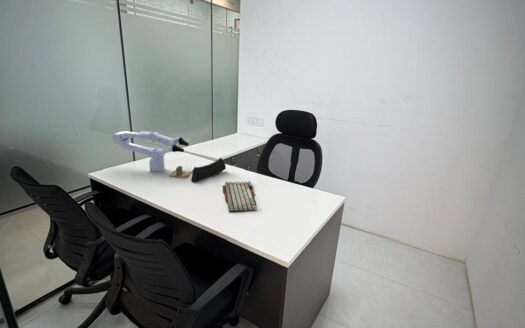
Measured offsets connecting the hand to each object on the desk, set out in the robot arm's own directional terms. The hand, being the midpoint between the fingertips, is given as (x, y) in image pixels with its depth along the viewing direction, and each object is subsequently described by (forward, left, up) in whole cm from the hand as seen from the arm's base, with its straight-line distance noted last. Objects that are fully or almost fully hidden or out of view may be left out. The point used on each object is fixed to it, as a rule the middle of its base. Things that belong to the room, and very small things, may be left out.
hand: (186, 147), depth 181 cm
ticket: (-2, +2, -18) cm, 18 cm away
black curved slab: (+18, -6, -19) cm, 26 cm away
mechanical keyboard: (+43, -33, -19) cm, 58 cm away
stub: (-2, -8, -18) cm, 20 cm away
